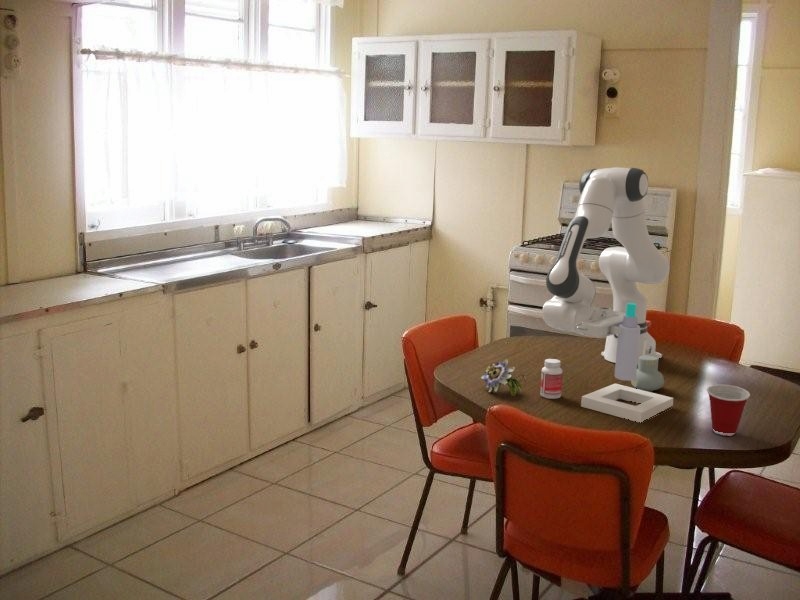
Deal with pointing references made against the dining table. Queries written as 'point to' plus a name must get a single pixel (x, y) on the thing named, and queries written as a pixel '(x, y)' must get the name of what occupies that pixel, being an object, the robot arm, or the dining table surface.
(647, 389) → the air freshener
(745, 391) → the plastic cup
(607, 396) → the hole block
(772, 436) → the dining table surface
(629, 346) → the spray bottle
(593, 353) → the dining table surface
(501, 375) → the passion flower
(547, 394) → the pill bottle
